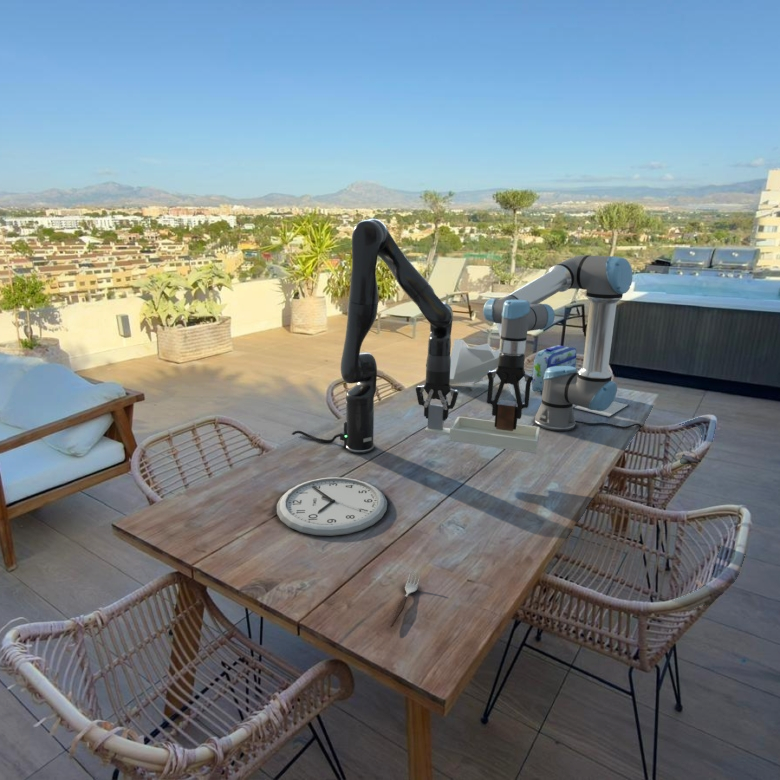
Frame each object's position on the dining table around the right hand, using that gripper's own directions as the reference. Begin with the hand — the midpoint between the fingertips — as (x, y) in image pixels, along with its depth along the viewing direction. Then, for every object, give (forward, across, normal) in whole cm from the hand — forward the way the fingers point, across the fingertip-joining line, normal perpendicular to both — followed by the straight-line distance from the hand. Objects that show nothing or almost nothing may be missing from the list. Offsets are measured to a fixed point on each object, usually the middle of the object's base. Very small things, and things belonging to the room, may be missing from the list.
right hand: (505, 426), depth 161 cm
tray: (+5, +8, 0) cm, 9 cm away
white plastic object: (+15, +20, -79) cm, 83 cm away
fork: (+15, +11, +69) cm, 72 cm away
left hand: (0, +22, 0) cm, 22 cm away
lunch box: (+15, -12, -95) cm, 97 cm away
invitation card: (+15, -33, -78) cm, 86 cm away
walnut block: (0, 0, 0) cm, 0 cm away
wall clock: (+15, +41, +39) cm, 58 cm away
